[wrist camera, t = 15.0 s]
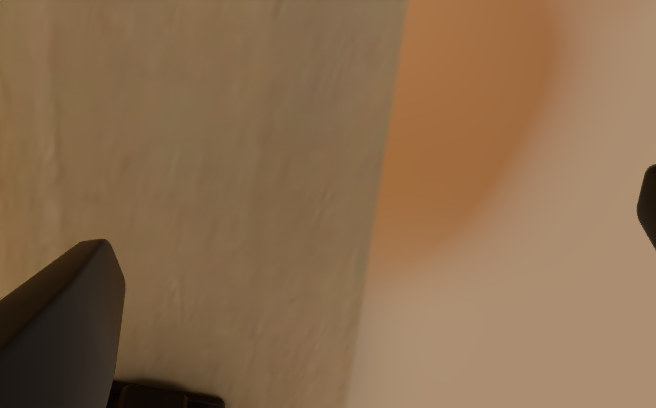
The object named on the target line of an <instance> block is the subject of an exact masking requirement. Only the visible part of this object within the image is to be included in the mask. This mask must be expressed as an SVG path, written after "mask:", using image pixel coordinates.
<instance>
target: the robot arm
mask: <svg viewBox="0 0 656 408" xmlns="http://www.w3.org/2000/svg"><path fill="white" fill-rule="evenodd" d="M637 216H638V219H639V221H640V223H641V225H642V227H643V228H644V230H645V232H646V234H647V236H648V237H649V239H650V241H651V243H652V244H653V246H654V248H655V250H656V164H654V165H652V166H650V167H649V168H648V169H647V170H646V172H645V175H644V179H643V183H642V187H641V192H640V196H639V200H638V204H637ZM124 298H125V280H124V276H123V273H122V271H121V268H120V266H119V263H118V261H117V258H116V256H115V253H114V251H113V248H112V246H111V244H110V243H109V241H107V240H106V239H95V240H87V241H82V242H79V243H78V244H77V245H75V246H74V247H72V248H71V249H70V250H68V251H67V252H66V253H64V254H63V255H62V256H60V257H59V258H57V259H56V260H55V261H53V262H52V263H51V264H49V265H48V266H47V267H45V268H44V269H42V270H41V271H40V272H38V273H37V274H36V275H34V276H33V277H32V278H30V279H29V280H27V281H26V282H25V283H23V284H22V285H21V286H19V287H18V288H17V289H15V290H14V291H12V292H11V293H10V294H8V295H7V296H6V297H4V298H3V299H2V300H0V408H225V403H224V401H223V400H221V399H219V398H214V397H208V396H202V395H195V394H189V393H183V392H176V391H170V390H164V389H157V388H151V387H145V386H138V385H132V384H126V383H120V382H113V377H114V372H115V367H116V360H117V353H118V345H119V337H120V329H121V322H122V314H123V306H124Z"/></svg>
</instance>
